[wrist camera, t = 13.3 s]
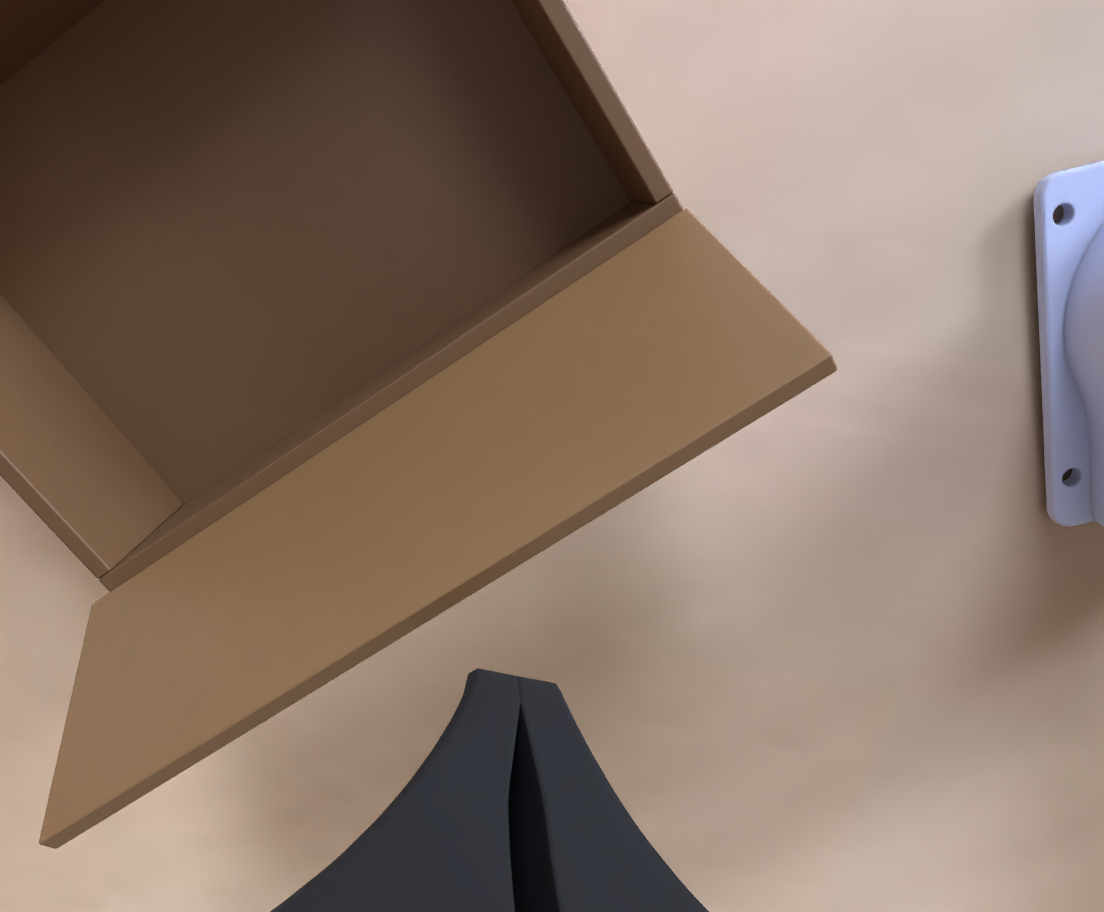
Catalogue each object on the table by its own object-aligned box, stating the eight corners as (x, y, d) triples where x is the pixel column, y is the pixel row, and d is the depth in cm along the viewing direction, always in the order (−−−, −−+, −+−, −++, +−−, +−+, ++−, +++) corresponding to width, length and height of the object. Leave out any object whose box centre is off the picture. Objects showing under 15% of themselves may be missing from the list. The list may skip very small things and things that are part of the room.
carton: (386, -244, 17) (340, -389, 13) (651, 207, 20) (684, 210, 16) (-118, 166, 19) (-299, 159, 15) (189, 517, 22) (110, 593, 18)
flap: (832, 354, 11) (839, 371, 11) (686, 206, 15) (692, 221, 15) (37, 844, 13) (56, 849, 13) (90, 604, 17) (105, 611, 17)
